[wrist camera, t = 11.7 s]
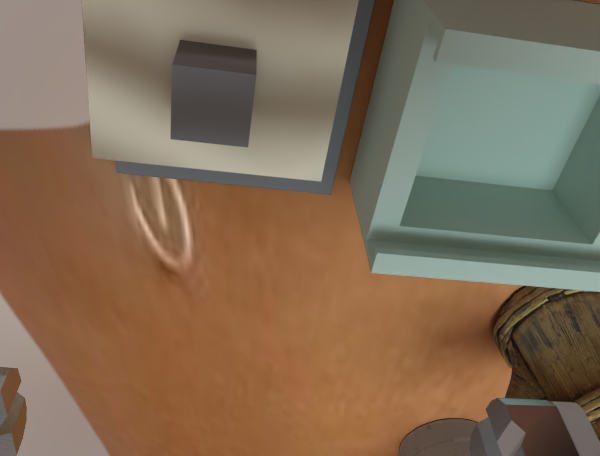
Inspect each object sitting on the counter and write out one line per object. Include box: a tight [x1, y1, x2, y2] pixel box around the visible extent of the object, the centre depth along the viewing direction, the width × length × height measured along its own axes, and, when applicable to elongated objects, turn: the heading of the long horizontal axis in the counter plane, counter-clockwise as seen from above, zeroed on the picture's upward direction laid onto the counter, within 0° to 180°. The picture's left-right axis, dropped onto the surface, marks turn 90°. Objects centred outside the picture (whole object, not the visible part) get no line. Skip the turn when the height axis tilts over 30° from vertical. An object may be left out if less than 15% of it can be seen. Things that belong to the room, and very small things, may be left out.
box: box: [350, 0, 600, 292], centre depth 27 cm, size 11×13×8 cm
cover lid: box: [82, 0, 359, 182], centre depth 27 cm, size 10×12×4 cm
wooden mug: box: [493, 286, 600, 441], centre depth 34 cm, size 9×14×18 cm, turn 90°
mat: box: [116, 0, 375, 195], centre depth 29 cm, size 13×12×1 cm
